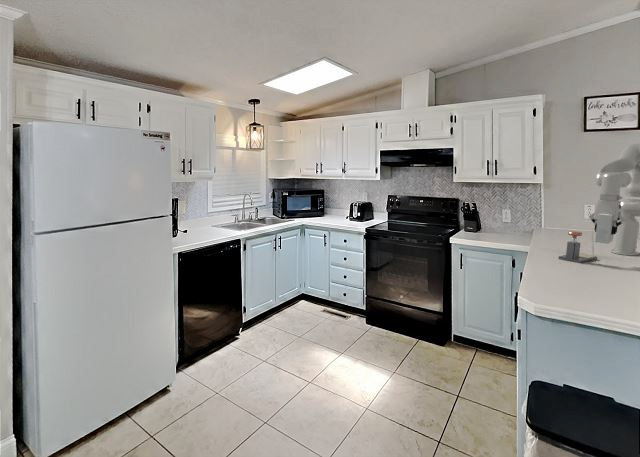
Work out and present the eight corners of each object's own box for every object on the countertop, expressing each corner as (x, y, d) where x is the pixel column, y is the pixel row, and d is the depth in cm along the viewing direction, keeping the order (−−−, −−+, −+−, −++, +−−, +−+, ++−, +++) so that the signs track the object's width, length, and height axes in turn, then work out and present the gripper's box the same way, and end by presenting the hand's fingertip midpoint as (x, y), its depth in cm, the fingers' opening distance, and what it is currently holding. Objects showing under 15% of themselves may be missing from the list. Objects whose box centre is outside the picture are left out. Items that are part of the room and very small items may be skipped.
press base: (574, 255, 205) (576, 238, 203) (597, 259, 196) (599, 241, 194) (558, 259, 197) (560, 241, 195) (580, 263, 187) (583, 244, 186)
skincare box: (599, 239, 190) (602, 211, 187) (613, 241, 185) (616, 212, 183) (594, 242, 185) (597, 213, 182) (609, 244, 180) (612, 214, 178)
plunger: (570, 248, 196) (571, 230, 195) (582, 250, 191) (584, 232, 190) (564, 249, 193) (566, 231, 192) (576, 251, 188) (578, 233, 187)
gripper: (633, 198, 175) (629, 234, 179) (593, 196, 190) (589, 229, 194) (626, 200, 172) (622, 236, 175) (586, 197, 187) (582, 231, 190)
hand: (605, 232), depth 184 cm, fingers closed on skincare box, 6 cm apart
